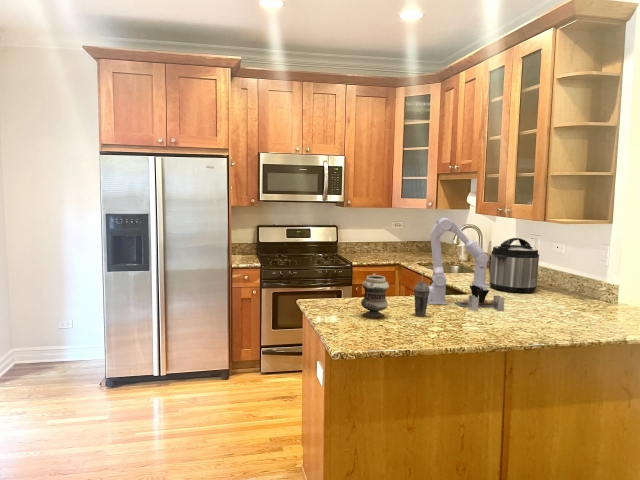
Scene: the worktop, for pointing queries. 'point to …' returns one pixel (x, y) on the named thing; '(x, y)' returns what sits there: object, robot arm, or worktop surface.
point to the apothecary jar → (375, 296)
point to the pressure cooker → (514, 267)
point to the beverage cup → (421, 298)
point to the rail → (486, 302)
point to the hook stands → (474, 302)
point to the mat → (467, 305)
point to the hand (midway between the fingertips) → (478, 301)
